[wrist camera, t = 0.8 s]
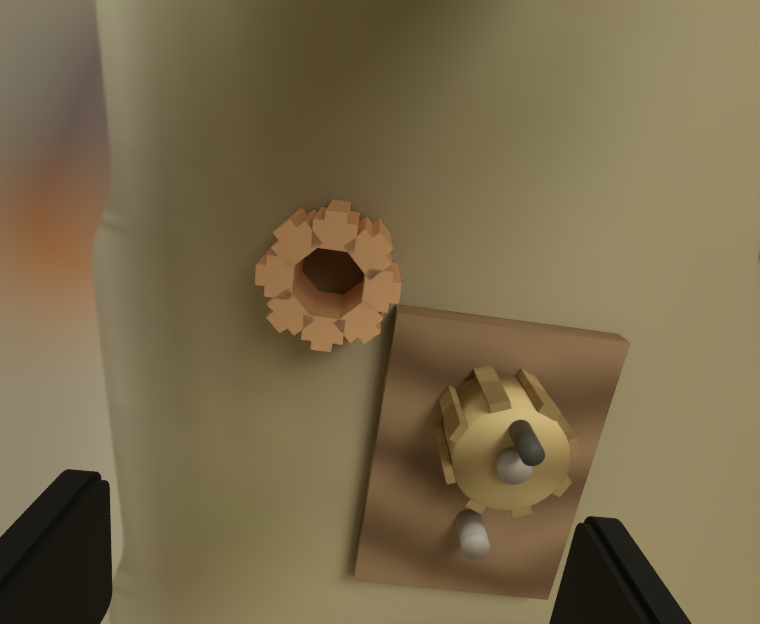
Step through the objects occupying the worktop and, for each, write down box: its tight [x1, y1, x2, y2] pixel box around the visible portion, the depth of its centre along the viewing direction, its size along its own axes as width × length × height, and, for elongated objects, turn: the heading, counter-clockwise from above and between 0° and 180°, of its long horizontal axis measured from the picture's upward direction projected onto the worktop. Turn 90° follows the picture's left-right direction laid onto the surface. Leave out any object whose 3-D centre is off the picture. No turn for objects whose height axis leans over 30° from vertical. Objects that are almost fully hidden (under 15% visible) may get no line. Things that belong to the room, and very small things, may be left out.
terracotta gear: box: [255, 199, 402, 352], centre depth 29 cm, size 7×7×4 cm
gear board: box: [354, 304, 630, 600], centre depth 31 cm, size 20×14×8 cm
